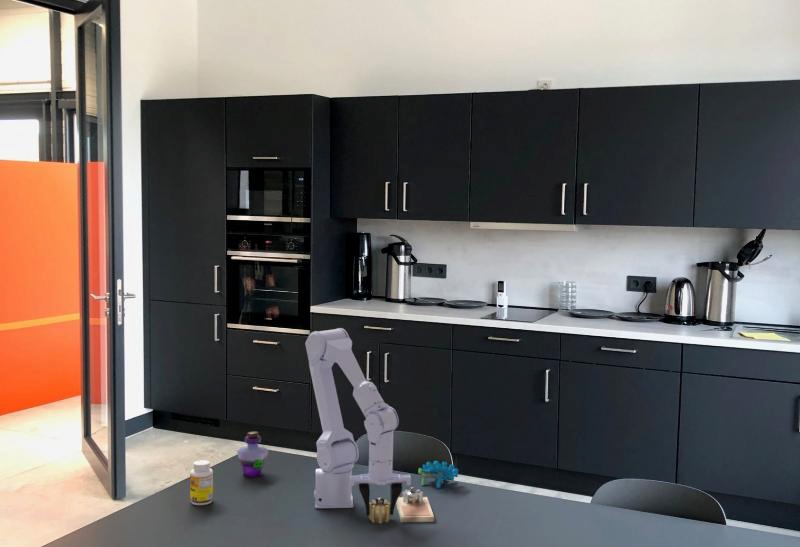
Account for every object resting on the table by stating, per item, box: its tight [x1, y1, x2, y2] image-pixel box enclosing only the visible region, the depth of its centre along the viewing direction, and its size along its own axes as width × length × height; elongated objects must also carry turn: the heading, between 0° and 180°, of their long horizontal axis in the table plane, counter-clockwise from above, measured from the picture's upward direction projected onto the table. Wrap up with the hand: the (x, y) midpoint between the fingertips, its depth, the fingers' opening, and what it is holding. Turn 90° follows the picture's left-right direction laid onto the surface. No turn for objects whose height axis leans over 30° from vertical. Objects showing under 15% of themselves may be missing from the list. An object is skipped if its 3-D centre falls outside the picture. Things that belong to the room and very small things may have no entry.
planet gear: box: [368, 496, 391, 524], centre depth 190 cm, size 5×5×5 cm
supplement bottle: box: [189, 459, 214, 506], centre depth 198 cm, size 6×6×10 cm
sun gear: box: [402, 486, 424, 505], centre depth 199 cm, size 5×5×3 cm
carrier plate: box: [395, 496, 435, 523], centre depth 195 cm, size 8×13×1 cm, turn 6°
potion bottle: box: [236, 431, 269, 479], centre depth 219 cm, size 9×9×12 cm
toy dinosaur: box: [417, 460, 459, 489], centre depth 214 cm, size 11×6×10 cm
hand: (379, 513), depth 190 cm, fingers closed on planet gear, 5 cm apart
